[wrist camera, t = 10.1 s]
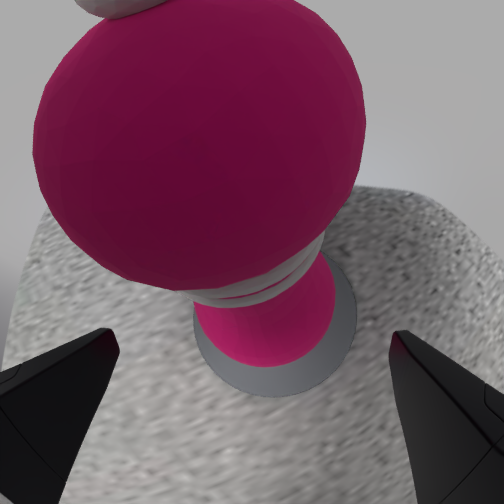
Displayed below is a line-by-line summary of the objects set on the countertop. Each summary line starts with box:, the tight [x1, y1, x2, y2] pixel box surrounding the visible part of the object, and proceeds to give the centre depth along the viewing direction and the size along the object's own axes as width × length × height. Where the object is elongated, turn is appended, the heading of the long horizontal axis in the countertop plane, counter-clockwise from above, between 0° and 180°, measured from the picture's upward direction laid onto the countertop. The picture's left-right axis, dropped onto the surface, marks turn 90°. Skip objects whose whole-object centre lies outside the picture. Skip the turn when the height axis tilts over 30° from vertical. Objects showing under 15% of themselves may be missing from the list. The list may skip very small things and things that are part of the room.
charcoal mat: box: [193, 251, 357, 397], centre depth 20 cm, size 11×11×1 cm
